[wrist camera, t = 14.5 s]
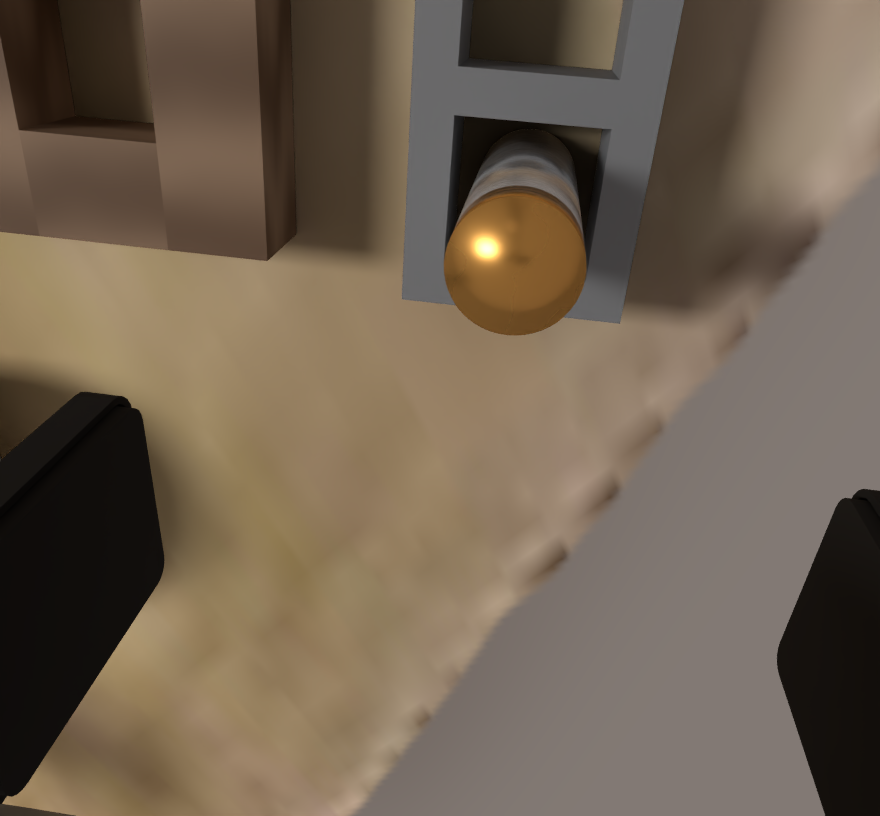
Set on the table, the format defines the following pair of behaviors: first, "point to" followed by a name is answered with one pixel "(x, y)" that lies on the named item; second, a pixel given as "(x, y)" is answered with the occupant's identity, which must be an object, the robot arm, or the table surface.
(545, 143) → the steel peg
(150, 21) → the socket block
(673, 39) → the gray cinder block
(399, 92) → the table surface
